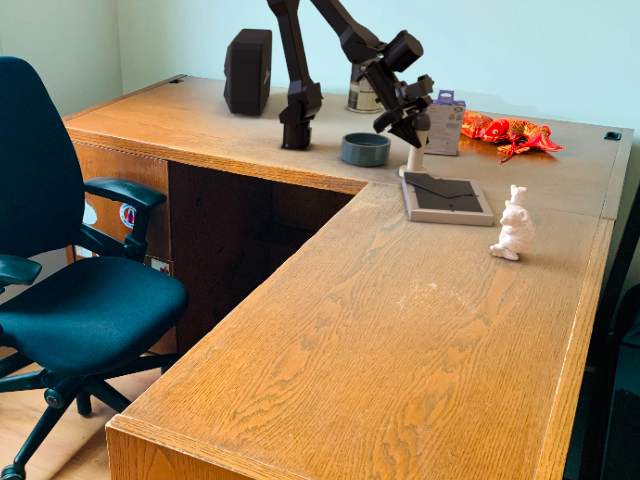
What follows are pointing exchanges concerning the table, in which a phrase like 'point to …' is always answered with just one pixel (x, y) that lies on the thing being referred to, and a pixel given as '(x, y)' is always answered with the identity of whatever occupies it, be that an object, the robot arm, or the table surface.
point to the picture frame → (445, 200)
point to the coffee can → (362, 93)
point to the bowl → (365, 149)
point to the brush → (416, 155)
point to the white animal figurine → (515, 227)
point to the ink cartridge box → (445, 124)
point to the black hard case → (248, 71)
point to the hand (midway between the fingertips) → (423, 145)
